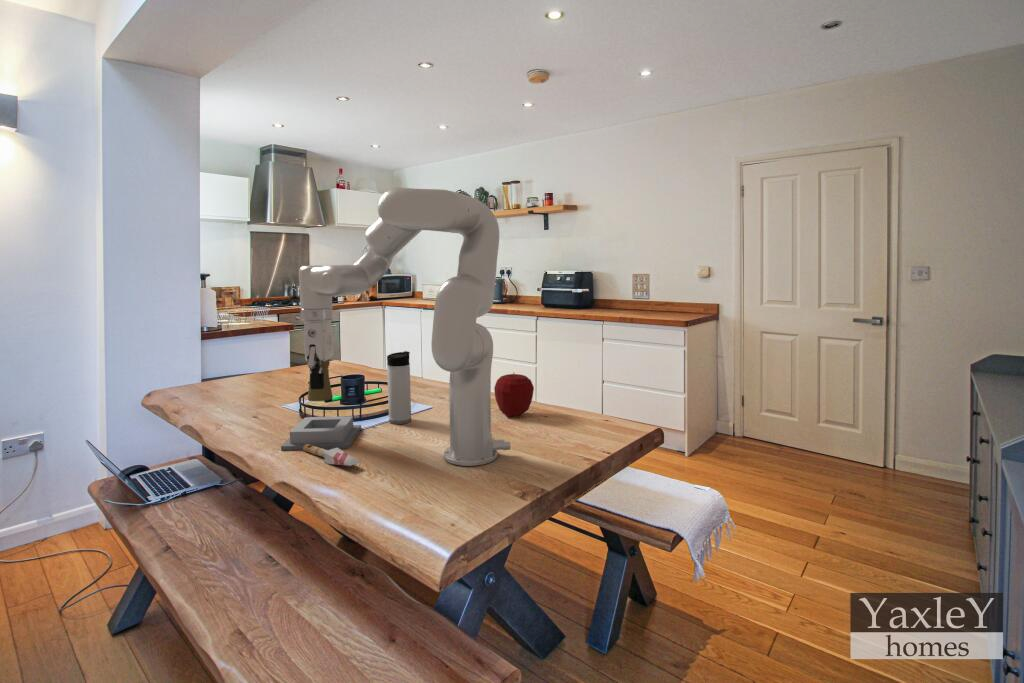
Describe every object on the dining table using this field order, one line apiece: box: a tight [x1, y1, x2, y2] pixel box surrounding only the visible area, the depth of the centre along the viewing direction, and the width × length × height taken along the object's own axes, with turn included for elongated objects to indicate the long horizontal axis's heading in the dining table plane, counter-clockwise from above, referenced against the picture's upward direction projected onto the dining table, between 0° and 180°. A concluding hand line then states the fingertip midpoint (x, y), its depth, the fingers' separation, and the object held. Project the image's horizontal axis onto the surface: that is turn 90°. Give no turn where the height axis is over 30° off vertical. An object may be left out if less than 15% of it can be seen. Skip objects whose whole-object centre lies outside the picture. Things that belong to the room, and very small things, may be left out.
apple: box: [493, 372, 535, 419], centre depth 158 cm, size 12×12×13 cm
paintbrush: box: [303, 444, 361, 467], centre depth 123 cm, size 4×3×20 cm
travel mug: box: [386, 350, 412, 425], centre depth 152 cm, size 6×7×20 cm
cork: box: [307, 359, 334, 402], centre depth 136 cm, size 6×6×11 cm
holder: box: [280, 416, 362, 451], centre depth 138 cm, size 16×16×4 cm
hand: (320, 385), depth 136 cm, fingers closed on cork, 4 cm apart
